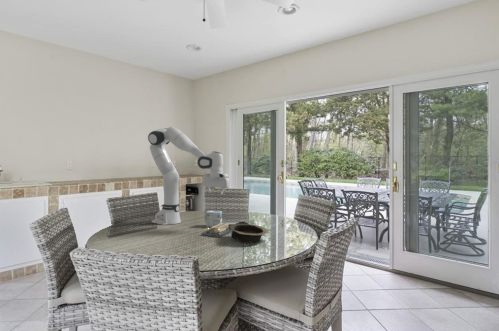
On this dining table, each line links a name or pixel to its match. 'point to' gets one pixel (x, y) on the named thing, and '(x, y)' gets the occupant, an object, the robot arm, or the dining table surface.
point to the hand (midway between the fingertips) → (215, 193)
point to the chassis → (218, 234)
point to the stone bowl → (247, 232)
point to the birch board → (219, 227)
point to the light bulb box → (213, 218)
